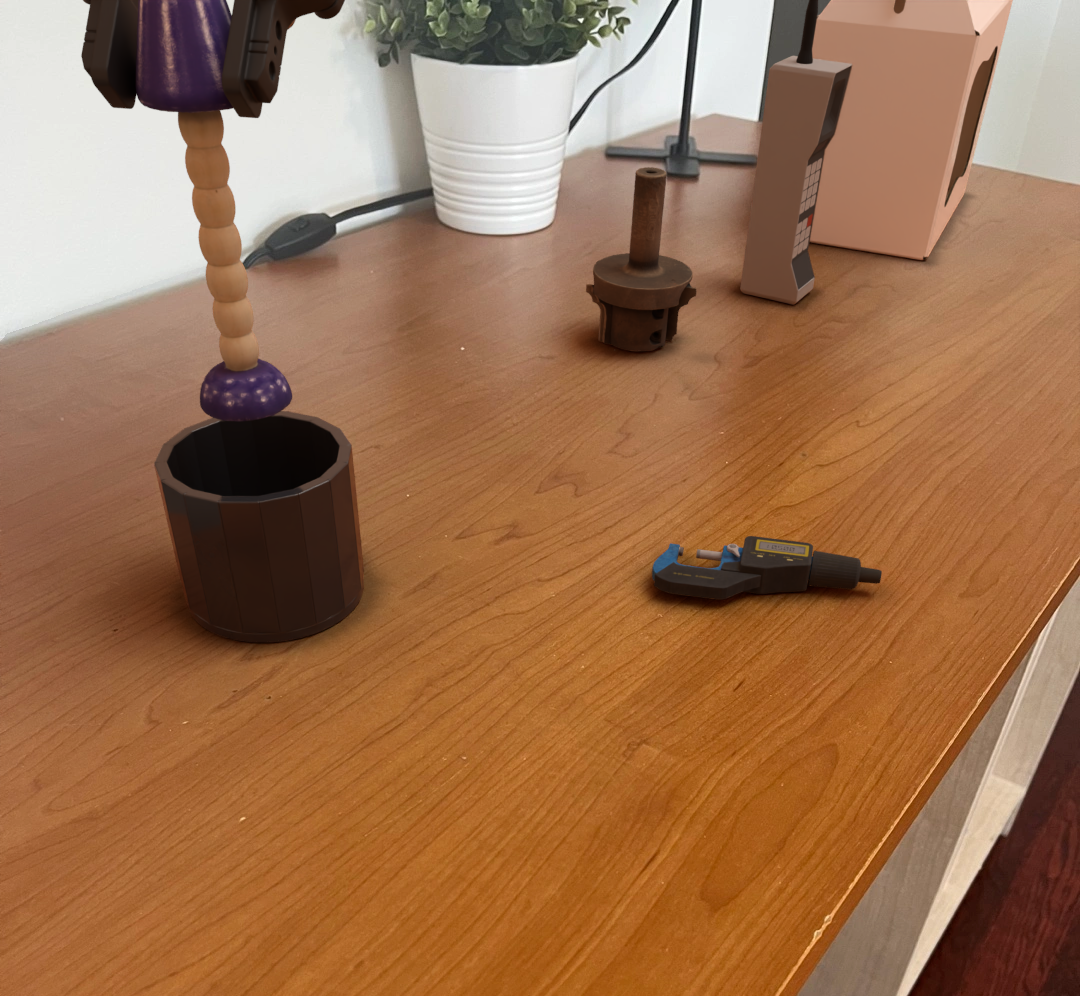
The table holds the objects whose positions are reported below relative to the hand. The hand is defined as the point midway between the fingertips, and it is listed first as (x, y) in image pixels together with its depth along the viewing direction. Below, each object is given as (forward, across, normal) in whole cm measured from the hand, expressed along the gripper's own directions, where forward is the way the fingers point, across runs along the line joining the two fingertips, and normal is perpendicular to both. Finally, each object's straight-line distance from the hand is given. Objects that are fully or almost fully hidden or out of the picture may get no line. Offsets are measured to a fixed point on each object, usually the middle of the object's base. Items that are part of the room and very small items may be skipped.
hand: (176, 98), depth 43 cm
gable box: (-35, +34, +69) cm, 85 cm away
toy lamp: (+8, 0, +11) cm, 13 cm away
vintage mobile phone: (-19, +25, +53) cm, 62 cm away
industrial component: (-10, +16, +44) cm, 48 cm away
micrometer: (+12, +26, +22) cm, 36 cm away
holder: (+16, 0, +18) cm, 24 cm away
